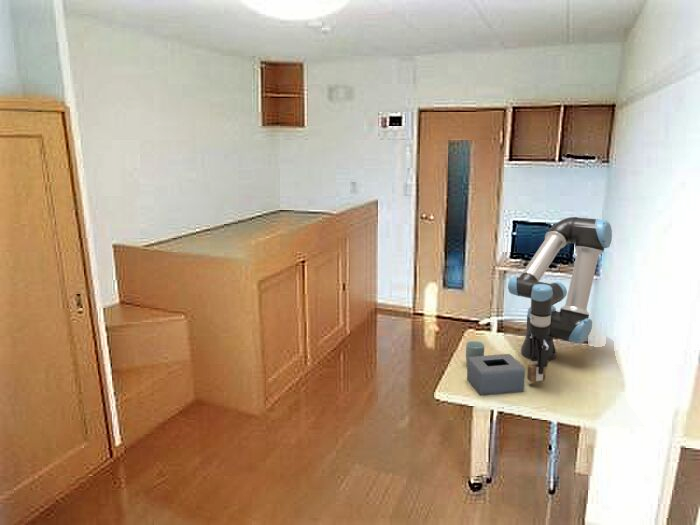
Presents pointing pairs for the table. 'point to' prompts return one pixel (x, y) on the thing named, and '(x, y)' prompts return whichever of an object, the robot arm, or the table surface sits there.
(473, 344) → the cup
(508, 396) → the table surface
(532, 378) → the block
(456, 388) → the table surface
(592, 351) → the table surface
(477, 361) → the coin box
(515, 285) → the robot arm
